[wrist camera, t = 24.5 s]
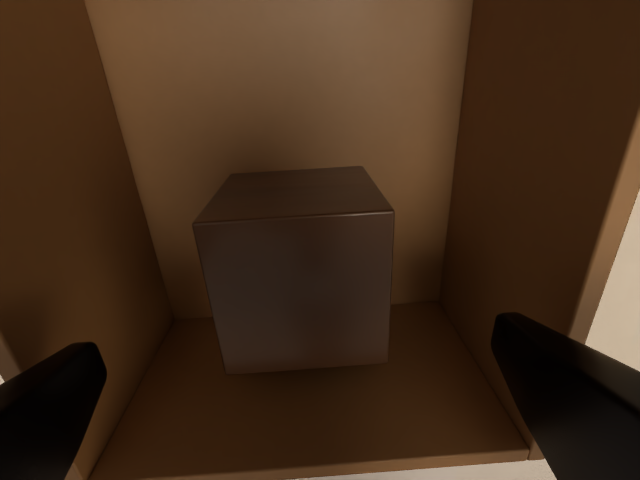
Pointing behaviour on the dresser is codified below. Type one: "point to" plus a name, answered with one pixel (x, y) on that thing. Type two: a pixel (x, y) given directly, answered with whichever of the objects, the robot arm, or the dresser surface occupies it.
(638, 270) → the dresser surface
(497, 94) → the carton
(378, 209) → the block
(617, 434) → the robot arm
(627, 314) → the dresser surface
